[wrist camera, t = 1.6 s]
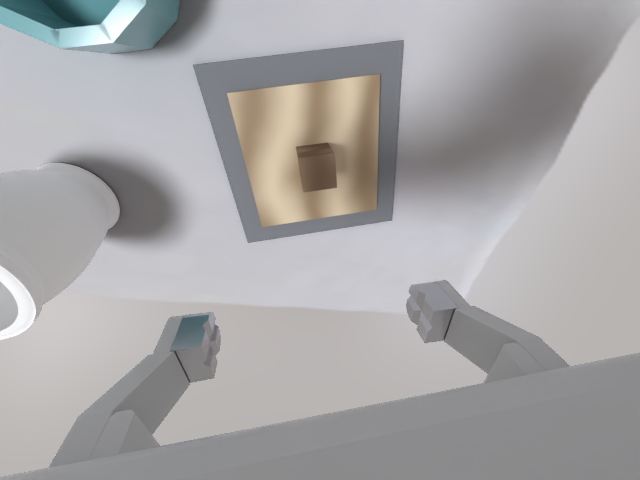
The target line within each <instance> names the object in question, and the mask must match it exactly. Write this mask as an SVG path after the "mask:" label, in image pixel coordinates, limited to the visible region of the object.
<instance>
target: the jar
mask: <svg viewBox="0 0 640 480" xmlns="http://www.w3.org/2000/svg"><path fill="white" fill-rule="evenodd" d="M119 215H120V207H119V203H118V200H117V198H116V196H115V194H114V193H113V191H112V190H111V189H110V188H109V187H108V186H107V184H106V183H104V182H103V181H102V180H101V179H100V178H98V177H97V176H95V175H94V174H92V173H91V172H89V171H87V170H85V169H82V168H80V167H77V166H74V165H70V164H65V163H48V164H44V165H41V166H39V167H37V168H36V169H34V170H21V171H13V172H7V173H2V174H0V340H1V339H5V338H10V337H13V336H16V335H18V334H20V333H22V332H23V331H25V330H26V329H28V328H29V327H30V326H31V324H32V323H33V322H34V321H35V320H36V318H37V317H38V316H39V314H40V311H41V309H42V305H43V304H45V303H46V302H48V301H49V300H51V299H52V298H54V297H55V296H57V295H58V294H59V293H60V292H62V291H63V290H64V289H65V288H67V287H68V286H69V285H70V284H71V283H72V282H73V281H74V280H75V279H76V278H77V277H78V276H79V275H80V274H81V273H82V272H83V271H84V270H85V268H86V267H87V266H88V264H89V263H90V261H91V260H92V258H93V257H94V255H95V253H96V251H97V250H98V248H99V247H100V245H101V244H102V242H103V240H104V238H105V236H106V234H107V230H108V229H110V228H111V227H113V226H114V225H115V224H116V222H117V221H118V219H119Z"/></svg>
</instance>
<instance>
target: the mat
mask: <svg viewBox="0 0 640 480" xmlns="http://www.w3.org/2000/svg"><path fill="white" fill-rule="evenodd" d="M402 55H403V40H400V41H392V42H383V43H375V44H366V45H358V46H349V47H341V48H332V49H324V50H315V51H306V52H298V53H289V54H281V55H272V56H264V57H255V58H247V59H238V60H230V61H221V62H213V63H204V64H196V65H193V67H194V70H195V74H196V77H197V80H198V83H199V86H200V90H201V93H202V96H203V99H204V102H205V106H206V109H207V112H208V115H209V119H210V122H211V125H212V128H213V131H214V135H215V138H216V141H217V144H218V148H219V151H220V154H221V157H222V160H223V164H224V167H225V170H226V173H227V177H228V180H229V183H230V186H231V189H232V193H233V196H234V199H235V202H236V206H237V209H238V212H239V215H240V218H241V222H242V225H243V228H244V231H245V234H246V238H247V241H248V243H251V242H257V241H263V240H270V239H276V238H282V237H289V236H295V235H302V234H308V233H314V232H321V231H327V230H333V229H340V228H346V227H353V226H359V225H365V224H372V223H378V222H384V221H391V220H392V212H393V196H394V180H395V165H396V149H397V133H398V118H399V102H400V87H401V71H402ZM373 74H380V98H379V137H378V177H377V210H371V211H364V212H358V213H351V214H345V215H338V216H332V217H325V218H319V219H312V220H306V221H299V222H293V223H286V224H280V225H273V226H267V227H262V225H261V221H260V217H259V213H258V210H257V206H256V202H255V198H254V194H253V191H252V187H251V183H250V179H249V175H248V172H247V168H246V164H245V160H244V156H243V153H242V149H241V145H240V141H239V137H238V133H237V130H236V126H235V122H234V118H233V114H232V111H231V107H230V103H229V99H228V95H227V93H228V92H236V91H244V90H252V89H260V88H268V87H277V86H285V85H293V84H301V83H309V82H317V81H325V80H333V79H341V78H349V77H357V76H365V75H373Z"/></svg>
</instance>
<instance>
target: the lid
mask: <svg viewBox="0 0 640 480" xmlns="http://www.w3.org/2000/svg"><path fill="white" fill-rule="evenodd" d="M227 95H228V99H229V103H230V107H231V111H232V114H233V118H234V122H235V126H236V130H237V133H238V137H239V141H240V145H241V149H242V153H243V156H244V160H245V164H246V168H247V172H248V175H249V179H250V183H251V187H252V191H253V194H254V198H255V202H256V206H257V210H258V213H259V217H260V221H261V225H262V227H267V226H273V225H280V224H286V223H293V222H299V221H306V220H312V219H319V218H325V217H332V216H338V215H345V214H351V213H358V212H364V211H371V210H377V177H378V137H379V98H380V74H373V75H365V76H357V77H349V78H341V79H333V80H325V81H317V82H309V83H301V84H293V85H285V86H277V87H268V88H260V89H252V90H244V91H236V92H228V93H227Z"/></svg>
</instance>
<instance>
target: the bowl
mask: <svg viewBox="0 0 640 480" xmlns="http://www.w3.org/2000/svg"><path fill="white" fill-rule="evenodd" d="M179 6H180V0H0V24H3V25H5V26H7V27H10V28H12V29H15V30H17V31H19V32H22V33H24V34H26V35H29V36H31V37H34V38H36V39H38V40H41V41H43V42H45V43H48V44H50V45H53V46H55V47H57V48H60V49H68V50H79V51H89V52H99V53H109V54H113V53H121V52H130V51H139V50H148V49H152V48H153V47H154V46H155V44H156V43H157V42H158V41H159V40H160V39H161V38H162V37H163V36H164V35H165V33H166V32H167V31H168V30H169V29H170V28H171V27H172V26H173V25H174V24H175V23H176V21H177V20H178V13H179Z"/></svg>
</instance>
